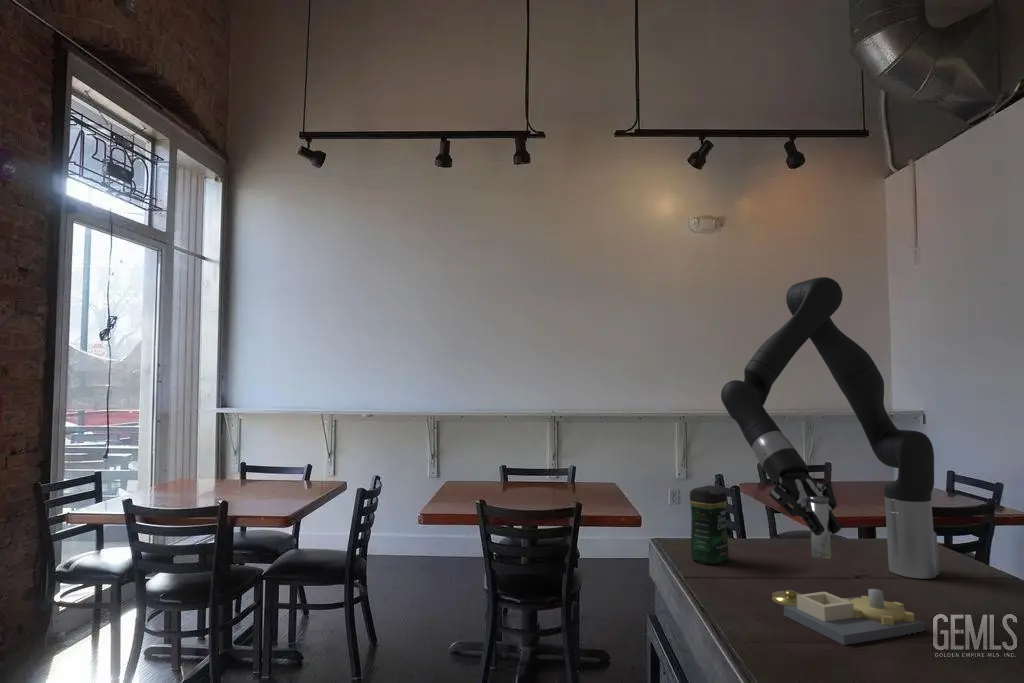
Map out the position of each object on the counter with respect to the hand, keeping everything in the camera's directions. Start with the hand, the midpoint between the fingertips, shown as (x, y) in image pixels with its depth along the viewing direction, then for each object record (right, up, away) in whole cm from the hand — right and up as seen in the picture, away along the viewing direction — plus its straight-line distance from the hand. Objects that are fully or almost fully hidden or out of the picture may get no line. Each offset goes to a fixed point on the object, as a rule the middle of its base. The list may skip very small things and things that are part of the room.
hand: (828, 531), depth 109 cm
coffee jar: (-8, -21, +41) cm, 46 cm away
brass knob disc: (-2, -18, +11) cm, 22 cm away
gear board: (+4, -17, 0) cm, 17 cm away
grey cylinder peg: (-1, -5, +2) cm, 5 cm away
